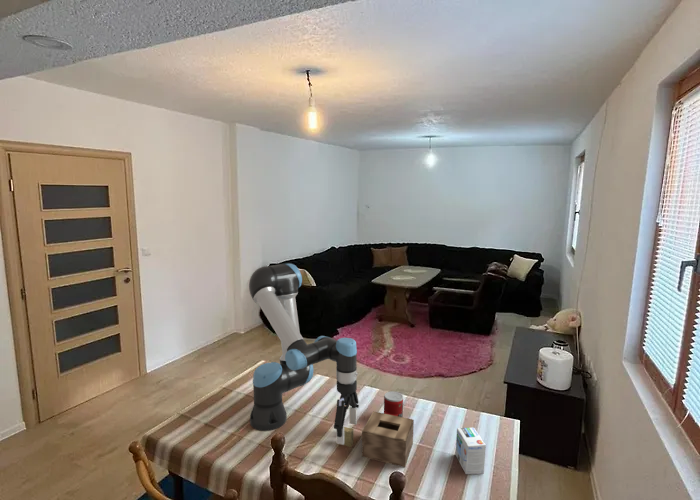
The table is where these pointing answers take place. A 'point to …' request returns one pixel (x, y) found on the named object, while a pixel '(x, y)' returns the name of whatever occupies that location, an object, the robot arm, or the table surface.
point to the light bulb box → (470, 450)
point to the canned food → (393, 404)
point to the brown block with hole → (387, 438)
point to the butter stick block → (348, 437)
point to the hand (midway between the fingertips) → (347, 433)
